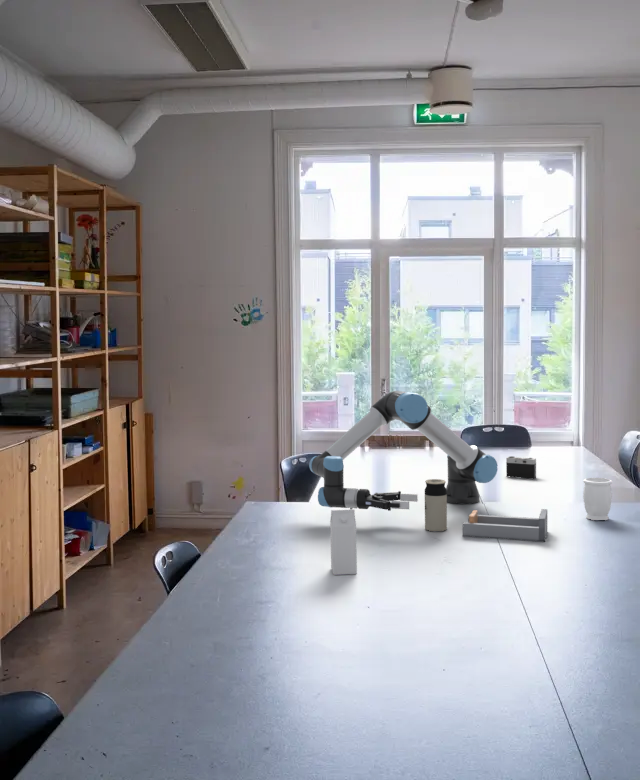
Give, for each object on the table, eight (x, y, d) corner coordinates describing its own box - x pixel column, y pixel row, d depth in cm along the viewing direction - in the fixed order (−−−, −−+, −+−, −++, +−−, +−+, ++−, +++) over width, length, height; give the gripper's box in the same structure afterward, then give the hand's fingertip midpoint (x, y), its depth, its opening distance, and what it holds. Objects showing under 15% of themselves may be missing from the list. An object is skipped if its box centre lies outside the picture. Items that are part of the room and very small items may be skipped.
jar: (614, 522, 293) (614, 482, 292) (585, 521, 295) (585, 482, 294) (609, 515, 303) (609, 477, 302) (581, 515, 305) (581, 477, 304)
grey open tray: (469, 526, 291) (469, 505, 291) (547, 531, 282) (547, 509, 281) (462, 536, 277) (462, 514, 276) (544, 541, 268) (544, 518, 267)
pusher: (473, 526, 288) (473, 510, 288) (477, 526, 288) (477, 510, 287) (469, 532, 279) (469, 516, 278) (473, 533, 278) (473, 516, 278)
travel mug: (448, 527, 290) (448, 479, 289) (444, 532, 283) (444, 483, 281) (427, 526, 293) (426, 478, 292) (423, 531, 285) (422, 482, 284)
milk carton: (331, 568, 242) (330, 507, 241) (354, 567, 243) (352, 507, 241) (333, 575, 235) (332, 513, 234) (357, 574, 236) (355, 512, 234)
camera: (538, 476, 389) (538, 456, 388) (534, 479, 382) (534, 458, 381) (511, 474, 396) (511, 454, 395) (506, 476, 389) (506, 457, 388)
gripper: (367, 501, 309) (420, 504, 302) (348, 515, 285) (405, 519, 278) (367, 482, 308) (420, 485, 301) (348, 495, 285) (405, 498, 278)
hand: (413, 501), depth 290 cm, fingers open, 13 cm apart
